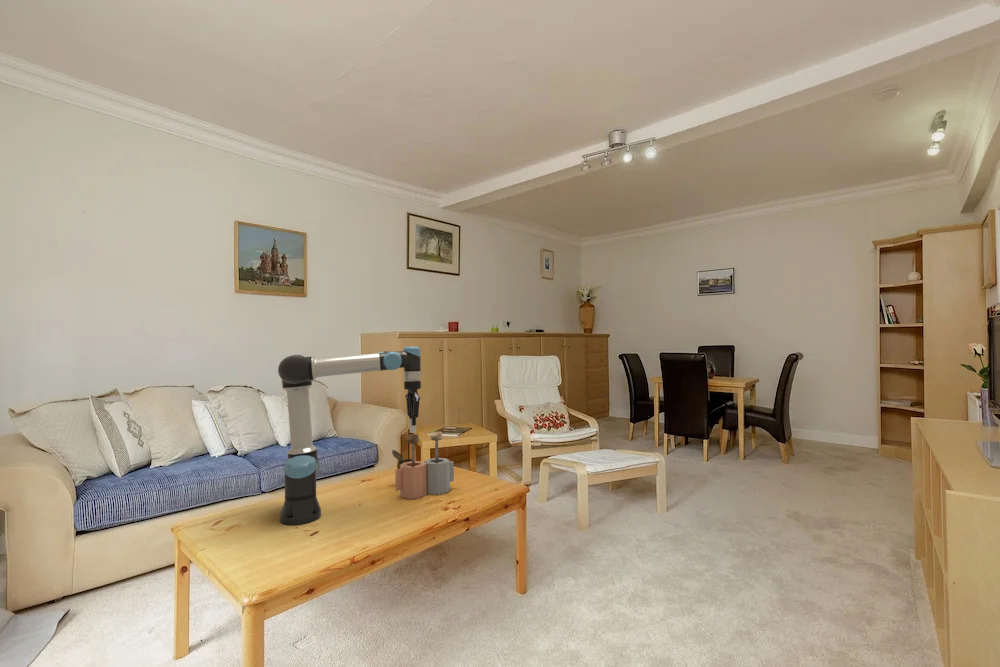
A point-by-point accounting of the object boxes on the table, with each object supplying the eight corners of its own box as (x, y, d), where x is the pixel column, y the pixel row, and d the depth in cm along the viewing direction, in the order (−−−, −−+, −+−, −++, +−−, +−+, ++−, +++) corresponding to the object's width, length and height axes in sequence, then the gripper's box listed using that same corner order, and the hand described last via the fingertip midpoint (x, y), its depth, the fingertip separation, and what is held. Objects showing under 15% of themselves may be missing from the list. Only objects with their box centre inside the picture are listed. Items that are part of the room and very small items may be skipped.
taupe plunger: (409, 473, 213) (409, 436, 213) (406, 470, 217) (405, 434, 218) (420, 471, 215) (420, 435, 216) (416, 468, 220) (416, 433, 220)
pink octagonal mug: (399, 501, 207) (399, 469, 208) (392, 495, 217) (391, 464, 217) (429, 496, 214) (429, 465, 214) (420, 490, 224) (420, 460, 224)
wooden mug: (387, 485, 231) (387, 448, 231) (408, 479, 242) (408, 443, 242) (399, 489, 226) (398, 451, 226) (420, 482, 236) (420, 446, 236)
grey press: (430, 496, 214) (430, 465, 215) (421, 489, 224) (421, 460, 224) (458, 491, 221) (457, 460, 221) (448, 485, 231) (448, 456, 231)
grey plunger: (433, 469, 219) (433, 433, 219) (429, 466, 223) (429, 432, 223) (444, 467, 221) (443, 432, 222) (439, 465, 226) (439, 431, 226)
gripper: (425, 380, 213) (426, 433, 213) (415, 379, 225) (415, 429, 224) (409, 381, 210) (409, 435, 209) (399, 380, 221) (400, 431, 220)
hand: (413, 432), depth 217 cm, fingers closed
